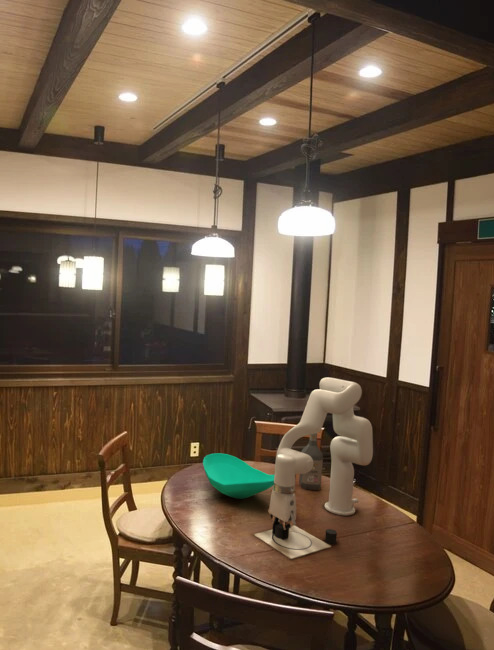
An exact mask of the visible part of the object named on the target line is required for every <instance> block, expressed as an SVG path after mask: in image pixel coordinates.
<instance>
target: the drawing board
mask: <svg viewBox="0 0 494 650" xmlns="http://www.w3.org/2000/svg"><path fill="white" fill-rule="evenodd" d="M272 530H273V528H272V529H268V530H264V531H260V532H256V533H253V536H254V537H256V538H257V539H259V540H261V542H263V543H265V544H266V545H268V546H269V547H271V548H273V549H274V550H276V551H277V552H279V553H280V554H281V555H283V556H285V557H287V558H288V559H290V560H294V559H298V558H301V557H304V556H307V555H310V554H314V553H318V552H320V551H323V550H324V551H325V550H327V549H330V548H332V545H331V544H328V543H326V542H325V541H323V540H321V539H320V538H318V537H316V536H314V535H313V534H311V533H309V532H307V531H306V530H304V529H301V528H300V527H298V526H297V525H295V526H292V527H291V528H290V529H289V536H288V538H287V539H284V540H282V539H279V538H277V537H275V534H272Z"/></svg>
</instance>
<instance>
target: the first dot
mask: <svg viewBox="0 0 494 650" xmlns="http://www.w3.org/2000/svg"><path fill="white" fill-rule="evenodd" d="M282 529H283V523H280V524H276V525H275V537H277V538H279V539H281V531H282Z"/></svg>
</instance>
